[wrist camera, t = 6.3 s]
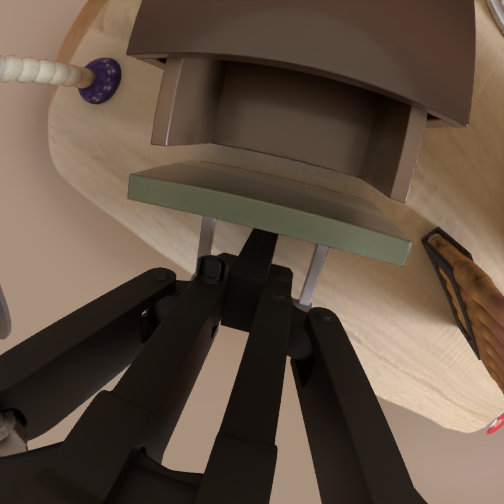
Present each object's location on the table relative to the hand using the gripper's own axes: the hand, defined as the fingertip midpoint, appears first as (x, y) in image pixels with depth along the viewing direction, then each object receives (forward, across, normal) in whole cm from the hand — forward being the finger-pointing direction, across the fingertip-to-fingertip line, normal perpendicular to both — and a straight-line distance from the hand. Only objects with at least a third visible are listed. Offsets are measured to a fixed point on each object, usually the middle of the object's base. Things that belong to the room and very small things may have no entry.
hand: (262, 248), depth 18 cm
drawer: (+2, 0, -8) cm, 8 cm away
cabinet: (+3, 0, -18) cm, 18 cm away
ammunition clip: (+4, -16, 0) cm, 16 cm away
